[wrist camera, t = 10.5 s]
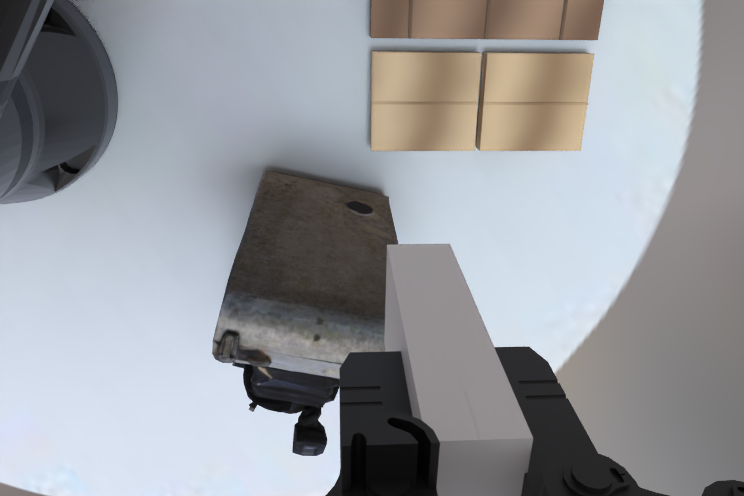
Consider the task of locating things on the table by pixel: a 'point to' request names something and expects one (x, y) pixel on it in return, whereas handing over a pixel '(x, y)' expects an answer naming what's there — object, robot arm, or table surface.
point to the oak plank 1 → (424, 100)
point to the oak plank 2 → (533, 101)
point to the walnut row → (486, 19)
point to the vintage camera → (305, 295)
